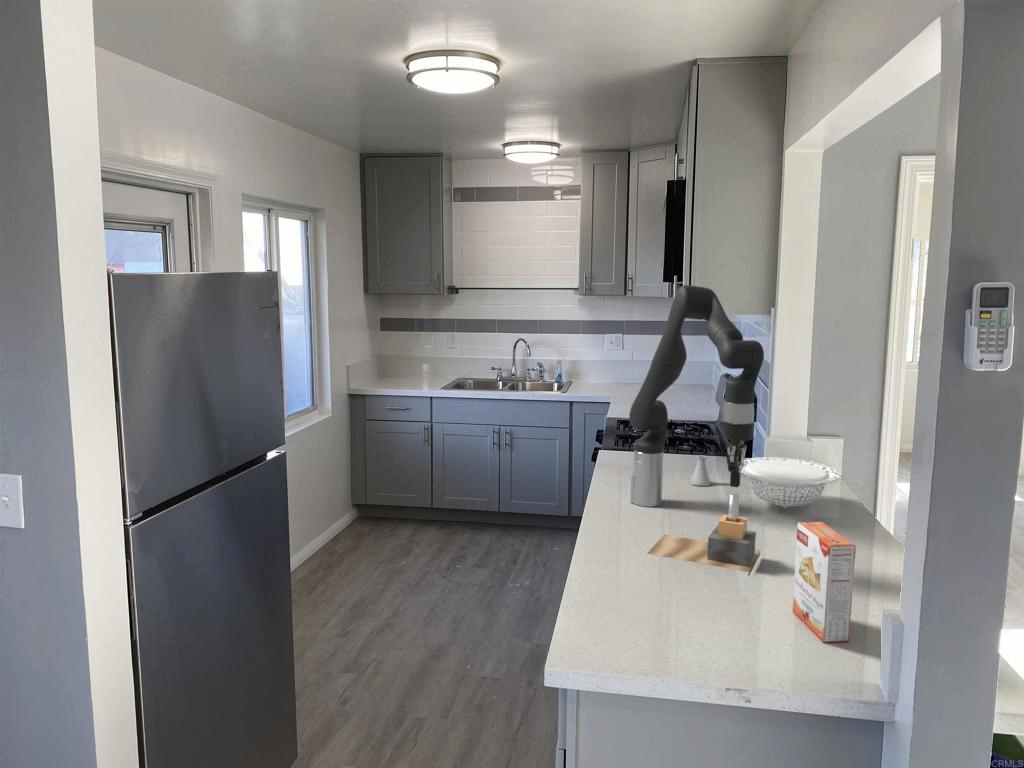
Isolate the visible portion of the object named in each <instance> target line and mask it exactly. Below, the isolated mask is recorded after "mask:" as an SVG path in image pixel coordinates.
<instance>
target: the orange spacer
mask: <svg viewBox="0 0 1024 768" xmlns="http://www.w3.org/2000/svg"><path fill="white" fill-rule="evenodd" d="M728 516H729V514H722V516H721V518H719V520H718V524H717V526H718V536H720V537H726V538H732V539H738V540H742V539H743V538H744V536H745V535H746V533H747V530H748V517H744V516H738V522H731V521H728Z"/></svg>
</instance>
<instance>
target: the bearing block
mask: <svg viewBox="0 0 1024 768" xmlns="http://www.w3.org/2000/svg"><path fill="white" fill-rule="evenodd" d="M756 538H757V531H755V530H748V529H747V533H746V535H745V536H744V538H743V539H742V540H738V539H732V538H726V537H720V536H718V525H716V526H715V528H714V529H713V530H712V531H711V533H710V534H709V536H708V538H707V541H706V540H705V541H704V540H700V539H693V538H687V537H681V536H677V535H669V534H663V535H662V536H661V537H660V539H659V540H658V541H657V542H655V544H654V545H653V546H652V547H651V548H650V549H649V550H648V551H647V552H646V554H648V555H653V556H660V557H664V558H670V559H675V560H681V561H687V562H693V563H698V564H704V565H709V566H713V567H714V566H715V567H721V568H725V569H730V570H736V571H737V570H738V571H741V572H748V574H747V576H750V575H751V573H752V571H753V569H754V567H756V566H755V565H756V564H757V562H758V560H759V558H760V556H761V550H760V549H756Z"/></svg>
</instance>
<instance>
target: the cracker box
mask: <svg viewBox="0 0 1024 768" xmlns="http://www.w3.org/2000/svg"><path fill="white" fill-rule="evenodd" d="M796 530H797V531H796V545H795V549H796V550H795V564H794V579H793V580H794V583H793V585H794V586H793V601H792V613H793V614H794V615H795V616H796V617H797V618H799V620H800V621H801V622H802V623H803V624H804V625H806V627H807V628H808V629H809V630H810V631H811V632H812V633H813V634H814V635H815V636H816V637H817V638H818V639H819V640H820V641H821V642H822V643H840V642H841V643H843V642H846V643H847V642H849V641H850V632H851V631H850V630H851V616H852V604H853V603H852V602H853V590H854V589H853V588H854V578H855V577H854V576H855V575H854V574H855V564H856V563H855V562H856V549H857V548H856V547H857V545H856V544H855V543H853V542H852V541H850V540H849V539H847V538H846V537H845V536H843V535H842V534H840V533H839V532H838V531H836V530H834V529H833V528H831V527H830V526H828V525H827V524H825V523H824V522H823V521H814V522H812V521H811V522H810V521H806V522H803V521H802V522H797V529H796Z"/></svg>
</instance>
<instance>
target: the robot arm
mask: <svg viewBox="0 0 1024 768" xmlns="http://www.w3.org/2000/svg"><path fill="white" fill-rule="evenodd" d="M686 319H691V320H701V321H702V320H703V321H706V322H707V323H706V334H707V336H708V337H707V338H709V340H710V341H711V342H712V344H714V346H715V347H716V350H717V353H718V358H719V362H720V364H721V365H722V366H723V367H724V368H727V369H730V370H741V369H742V371H741V373H740V375H738V376H734V377H731V378H728V379H727V380H726V382H725V387H724V388H725V389H724V404H723V410H722V425H721V426H722V430H721V431H722V432H721V436H722V438H724V439H726V440H729V445H727V448H726V449H727V455H726V463H727V469H728V472H729V473H730V479H729V481H730V482H729V486H730V487H732V488H739V487H740V485H741V471H742V468H743V463H744V460H745V456H746V452H747V451H746V450H747V445H746V444H745V442H746V441H750V440H752V439H753V438H754V425H755V423H754V422H755V387H756V383H757V380H758V377H759V374H760V371H761V368H762V366H763V363H764V358H765V352H764V351H765V350H764V348H763V345H762V344H761V343H760V342H759V341H757V340H753V339H752V340H750V339H748V340H744V336H743V334H742V333H741V331H740V330H739V329H738V327H737V326H736V325H735V324H734V323H733V322H732V321H731V320H730V318H729V317H728V316H727V314H726V312H725V309H724V307H723V305H722V304H721V302H720V299H719V297H718V296H717V294H716V293H715V291H714V290H712V289H711V288H708V287H704V286H696V285H689V284H688V285H687V284H685V285H681V286H680V287H678V289H677V291H676V293H675V295H674V297H673V300H672V304H671V306H670V311H669V314H668V318H667V321H666V325H665V327H664V330H663V334H662V336H661V339H660V341H659V343H658V346H657V348H656V350H655V353H654V355H653V358H652V361H651V363H650V366H649V369H648V371H647V374H646V377H645V379H644V380H643V384H642V386H641V387H640V389H639V391H638V394H636V395H637V396H636V397H635V399H634V401H633V403H632V404H631V407H630V411H629V417H628V418H629V419H628V420H629V423H630V426H631V428H633V430H635V431H646V432H645V433H644V434H643V435H642V436H640V437H639V438H638V439H636V440H635V441H634V445H633V470H632V471H633V472H632V473H631V474H630V475H631V476H630V477H631V478H630V503H631V504H634V505H636V506H640V507H649V508H650V507H651V508H652V507H658V506H661V505H662V501H663V500H662V499H663V474H664V470H663V469H664V450H665V449H664V448H665V445H666V442H667V433H668V432H667V430H668V419H669V418H668V416H669V415H668V408H667V406H666V404H665V402H664V401H661V400H658V398H659V397H660V396H661V395H662V394H663V393H664V392H665V391H666V390H668V389H669V388H670V387H671V386H672V385H673V384H674V383H675V382H676V381H677V380H678V379H679V377H680V375H681V374H682V371H683V368H684V366H685V365H686V362H687V355H688V354H687V348H686V345H685V343H684V339H683V335H682V328H683V324H684V321H685V320H686Z"/></svg>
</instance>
